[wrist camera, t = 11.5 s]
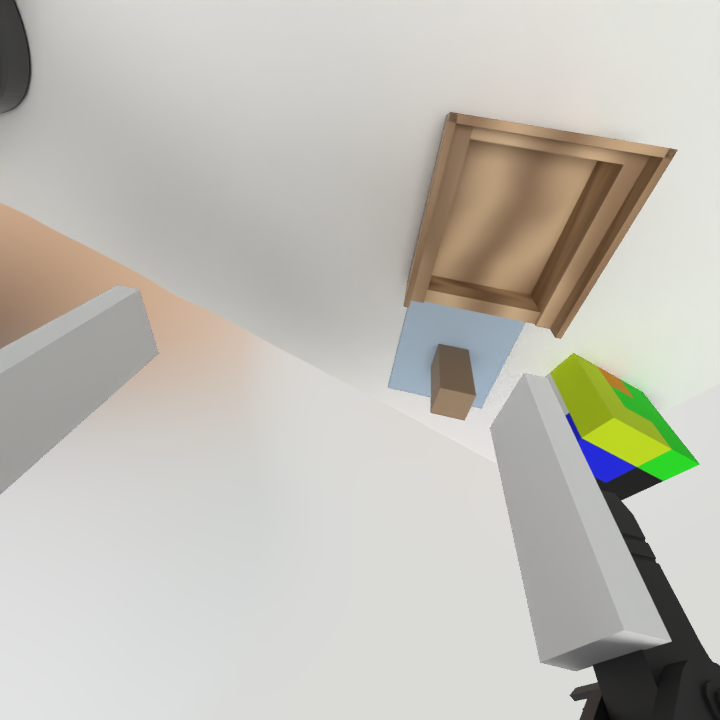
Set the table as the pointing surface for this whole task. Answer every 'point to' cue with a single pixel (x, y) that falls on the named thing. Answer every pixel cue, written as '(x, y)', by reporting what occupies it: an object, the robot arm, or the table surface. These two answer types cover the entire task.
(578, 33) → the table surface
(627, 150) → the oak box
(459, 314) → the cover plate
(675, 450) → the puzzle toy
